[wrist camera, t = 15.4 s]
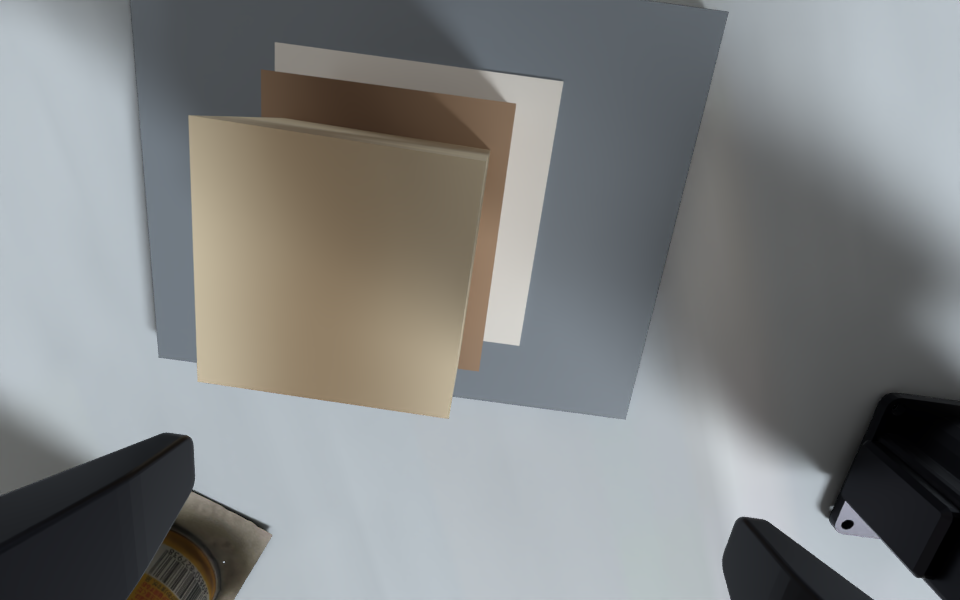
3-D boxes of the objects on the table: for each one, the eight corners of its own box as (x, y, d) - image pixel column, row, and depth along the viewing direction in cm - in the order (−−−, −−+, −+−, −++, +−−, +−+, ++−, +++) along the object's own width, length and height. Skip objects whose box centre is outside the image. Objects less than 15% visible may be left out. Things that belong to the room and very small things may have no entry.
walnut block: (512, 108, 16) (516, 103, 12) (483, 315, 19) (478, 371, 14) (323, 83, 16) (260, 69, 12) (317, 293, 19) (263, 343, 14)
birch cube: (490, 149, 12) (486, 161, 9) (462, 339, 14) (448, 418, 10) (283, 118, 12) (188, 115, 9) (279, 311, 14) (197, 381, 10)
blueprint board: (715, 18, 16) (730, 11, 15) (619, 405, 21) (626, 420, 20) (146, -61, 16) (121, -73, 15) (174, 346, 21) (157, 358, 20)
